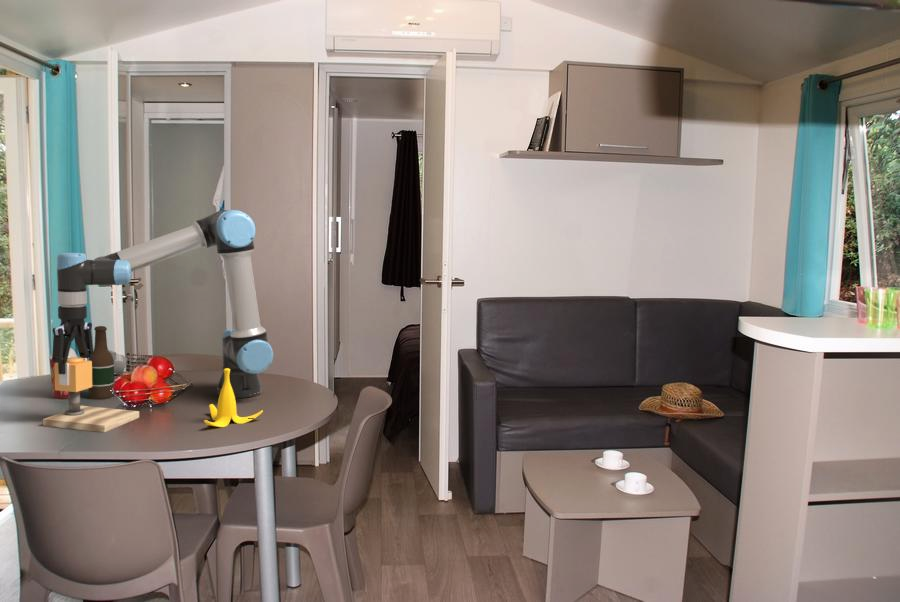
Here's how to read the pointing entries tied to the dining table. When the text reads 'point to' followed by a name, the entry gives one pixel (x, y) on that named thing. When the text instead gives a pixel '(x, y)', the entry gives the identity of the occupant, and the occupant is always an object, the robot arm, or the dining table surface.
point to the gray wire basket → (123, 362)
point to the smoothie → (56, 393)
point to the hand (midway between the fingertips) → (73, 381)
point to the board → (89, 417)
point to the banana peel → (227, 407)
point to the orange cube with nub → (76, 375)
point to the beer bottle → (101, 367)
